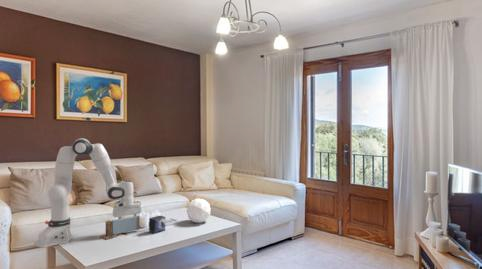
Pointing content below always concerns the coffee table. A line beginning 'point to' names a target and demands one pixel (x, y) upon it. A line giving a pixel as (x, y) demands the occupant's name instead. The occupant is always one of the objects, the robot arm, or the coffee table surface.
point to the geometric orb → (198, 210)
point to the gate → (125, 224)
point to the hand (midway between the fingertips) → (127, 221)
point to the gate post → (108, 231)
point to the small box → (156, 224)
